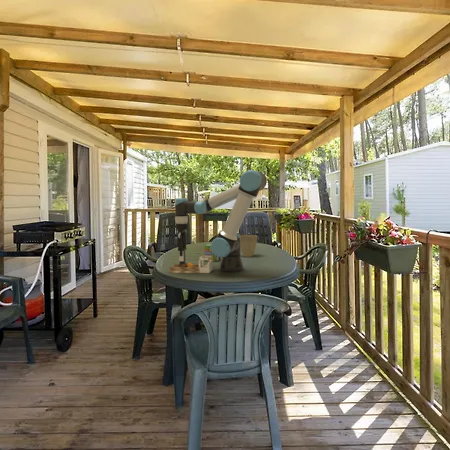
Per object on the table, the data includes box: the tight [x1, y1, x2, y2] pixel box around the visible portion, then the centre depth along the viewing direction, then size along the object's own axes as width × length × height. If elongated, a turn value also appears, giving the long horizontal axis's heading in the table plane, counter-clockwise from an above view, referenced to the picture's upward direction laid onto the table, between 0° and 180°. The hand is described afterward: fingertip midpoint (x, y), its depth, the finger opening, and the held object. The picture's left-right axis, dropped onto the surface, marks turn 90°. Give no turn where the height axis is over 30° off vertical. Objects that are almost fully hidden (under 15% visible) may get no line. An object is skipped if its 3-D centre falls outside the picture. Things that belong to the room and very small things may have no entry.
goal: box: [198, 255, 213, 274], centre depth 220 cm, size 6×10×9 cm, turn 172°
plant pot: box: [240, 234, 258, 258], centre depth 276 cm, size 15×15×16 cm
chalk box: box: [204, 243, 221, 263], centre depth 259 cm, size 9×9×15 cm
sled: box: [177, 248, 188, 267], centre depth 222 cm, size 4×6×12 cm, turn 172°
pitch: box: [168, 263, 203, 274], centre depth 222 cm, size 19×12×3 cm, turn 82°
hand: (182, 260), depth 222 cm, fingers closed on sled, 3 cm apart
